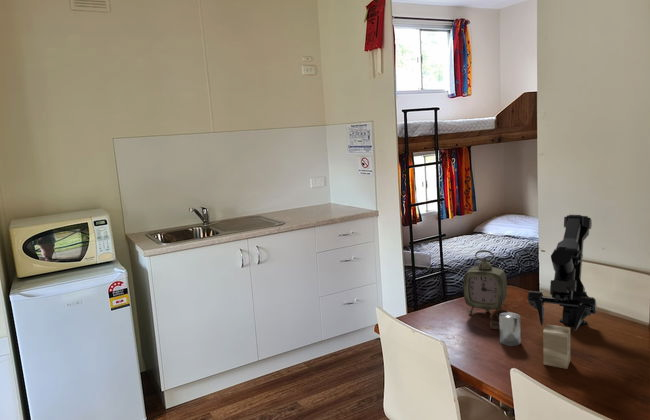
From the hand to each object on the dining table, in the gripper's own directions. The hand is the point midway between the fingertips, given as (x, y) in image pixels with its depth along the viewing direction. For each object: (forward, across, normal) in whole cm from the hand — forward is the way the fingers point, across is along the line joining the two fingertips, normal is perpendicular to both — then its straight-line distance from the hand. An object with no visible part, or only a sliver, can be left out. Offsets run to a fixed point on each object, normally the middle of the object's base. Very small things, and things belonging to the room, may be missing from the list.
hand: (558, 327), depth 147 cm
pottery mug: (-5, -20, +20) cm, 29 cm away
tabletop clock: (-13, -30, +27) cm, 42 cm away
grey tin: (+2, -16, +12) cm, 20 cm away
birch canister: (+9, 0, +6) cm, 10 cm away
